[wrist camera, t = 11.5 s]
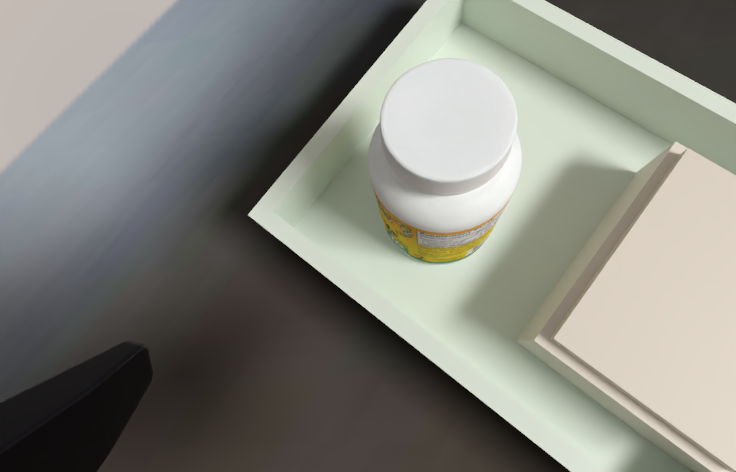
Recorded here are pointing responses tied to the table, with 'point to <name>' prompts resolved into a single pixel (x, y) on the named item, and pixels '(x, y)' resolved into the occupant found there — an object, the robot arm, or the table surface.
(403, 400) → the table surface
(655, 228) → the beige lidded box
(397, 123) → the supplement bottle
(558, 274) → the tote
